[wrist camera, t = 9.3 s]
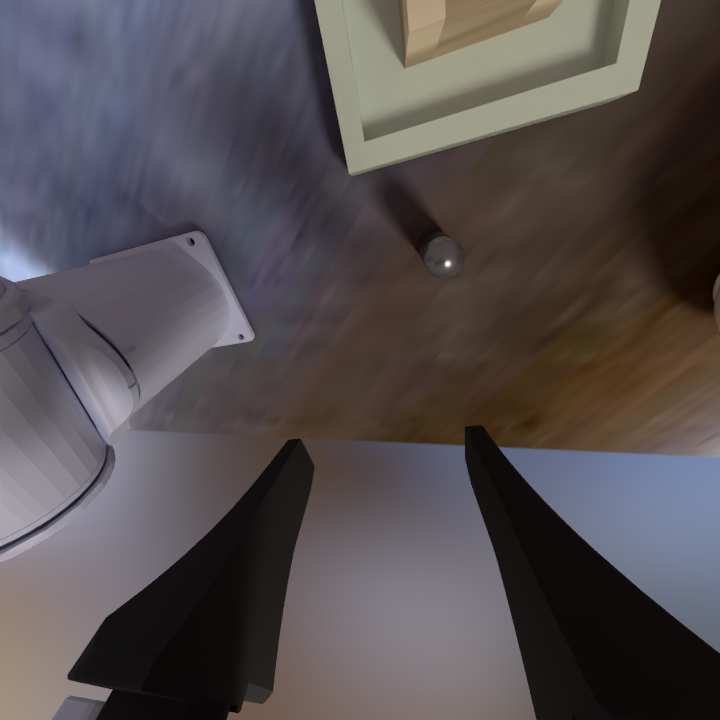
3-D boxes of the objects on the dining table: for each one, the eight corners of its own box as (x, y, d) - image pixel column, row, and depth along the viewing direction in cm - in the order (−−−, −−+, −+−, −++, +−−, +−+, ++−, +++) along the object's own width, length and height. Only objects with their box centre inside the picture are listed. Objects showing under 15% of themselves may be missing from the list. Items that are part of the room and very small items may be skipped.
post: (419, 264, 16) (427, 282, 13) (416, 233, 15) (424, 244, 12) (449, 258, 16) (464, 275, 12) (447, 226, 15) (464, 235, 12)
